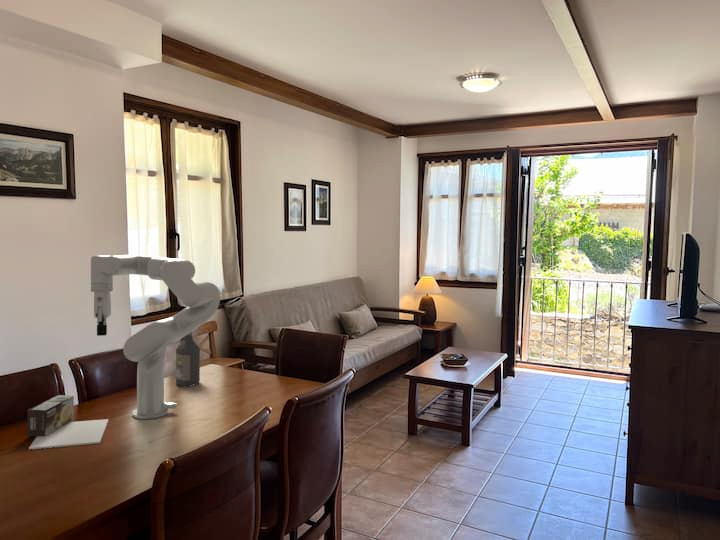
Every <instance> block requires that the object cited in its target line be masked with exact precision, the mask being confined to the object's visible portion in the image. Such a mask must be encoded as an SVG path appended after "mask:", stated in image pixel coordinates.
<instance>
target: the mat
mask: <svg viewBox="0 0 720 540" xmlns="http://www.w3.org/2000/svg"><path fill="white" fill-rule="evenodd" d="M107 423H109V418H106V419H105V418H103V419H92V420H80V421H79V420H78V421H70V422H69V423H67V424H65V425H64V426H62V427H60V428H58V429H57V430H55V431H53V432H52V433H50V434H48V435H46V436H35V438H34V440H33V441H32V443H31V444H30V445H29V447H28V450H29V451H31V449H32V450H39V449H40V450H41V449H42V448H43V449H51V448H53V447H54V448H63V447H64V448H65V447H74V446H76V447H77V446H87V445H96V444H101V442H102V439H103V435H104V433H105V431H106V429H107V425H108V424H107Z"/></svg>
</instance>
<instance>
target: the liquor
mask: <svg viewBox="0 0 720 540" xmlns="http://www.w3.org/2000/svg"><path fill="white" fill-rule="evenodd" d="M200 365H201V349H200V345H198V344H197V342H196V341H195V340H194V338H193V331H192V332H190V333H189V334H187V335H186V336H184V337H183V340H182V341H181V342H180V343H179V345H178V346H177V347H176V350H175V384H176V385H177V384H178V385H177V386H180V385H182V386H181V387H184V386H186V387H191V386H190V385H193V384H197V383H198V384H199V383H200V381H201V380H200V378H201V377H200V375H201V366H200ZM198 384H197V385H198ZM193 386H194V385H193Z"/></svg>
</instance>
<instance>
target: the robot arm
mask: <svg viewBox="0 0 720 540" xmlns="http://www.w3.org/2000/svg"><path fill="white" fill-rule="evenodd" d="M195 274H196V266H195V264H194V263H193V262H191V261H190V260H188V259H183V258H172V257H171V258H170V257H161V256H149V255H148V256H146V255H133V254H121V255H117V254H116V255H107V254H101V255H99V254H98V255H97V254H96V255H93V256H91V258H90V292H91V293H93V316H94V318H95V319H96V323H97V324H96V336H99V337H100V336H101V337H102V336H106V335H107V334H108V329H107V328H108V326H107V325H108V324H107V318H109V317H110V316H111V315H112V305H111V304H112V303H111V301H112V299H111V297H112V296H111V292H113V290H114V287H113V284H114V283H113V280H114V279H113V277H114V276H125V275H126V276H127V275H138V276H148V278H149V279H150V280H155V281H163V283H164V284H165V285H166V287H167V288H168V289H169V290H170V291H171V292H172V293H173V295H175V297H176V298H177V299H178V300H179V302H181V303H182V304H183V305H185V308H183V309H182V310H180V311H179V312H177V313H176V314H174V315H172V316H170V317H167V318H163V319H159V320H156V321H154V322H151V323H149V324H148V325H147V326H144V328H142V329H140V330H139V331H138V332H136V333H134V334H133V335H131V336H129V337H128V338H127V339H126V341H125V342H124V344H123V349H122V350H123V355H124V356H125V358H126V359H128V361H131V362H136V363H137V362H138V363H137V369H136V371H137V373H136V409H134V410H133V411H132V417H133V418H135V419H139V420H151V419H158V418H162V417H164V416H166V415H167V414H169V409H177V403H176V402H171V401H170V402H167V401H166V399H165V359H166V355H167V354H166V353H167V347H168V346H169V345H172V344H175V343H177V342H179V341H180V340H181V339H184V336H186V335H187V334H189V333H190V332H192V333H193V331H195V330H196V329H197V328H199V327H201V326H202V325H204V323H206V322H208V321H209V320H210V319H211V318H212V317H213V316H214V315H215V313H216V312H217V310H218V309H219V306H220V302H221V292H220V289H219V287H218V286H217V285H215V283H212V282H209V281H202V282H194V280H193V279H194V276H195Z"/></svg>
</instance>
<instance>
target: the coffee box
mask: <svg viewBox="0 0 720 540" xmlns="http://www.w3.org/2000/svg"><path fill="white" fill-rule="evenodd" d="M74 398H75V397H74V395H66V394H65V395H64V394H63V395H62V394H59V395H55V396H54V397H51V398H50V399H47V400H46V401H43V402H41V403H39V404H37V405H35V406H33V407H31V408H28V409H27V410H26V411H27V415H26V416H27V420H26V421H27V424H26V425H27V426H26V427H27V428H26V430H27V437H37V436H46V435H48V434H50V433H52V432H53V431H55V430H57V429H58V428H60V427H62V426H64V425H65V424H67V423H69V422H73V421H74V408H75V407H74V406H75V405H74V402H75V401H74V400H75V399H74Z"/></svg>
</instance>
